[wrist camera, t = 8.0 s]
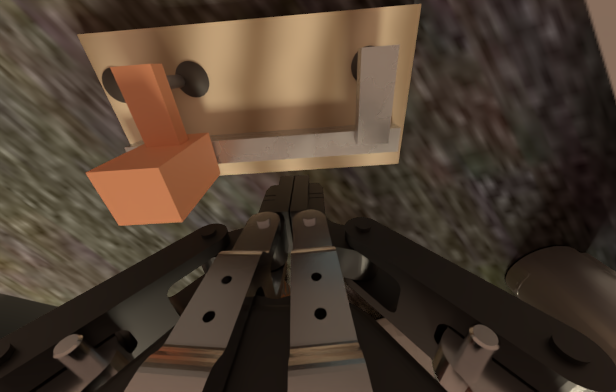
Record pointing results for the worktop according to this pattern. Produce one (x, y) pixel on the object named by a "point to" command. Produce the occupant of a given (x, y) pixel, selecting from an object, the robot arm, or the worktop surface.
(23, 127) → the worktop surface
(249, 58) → the hole board
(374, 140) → the rail
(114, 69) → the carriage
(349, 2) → the worktop surface
